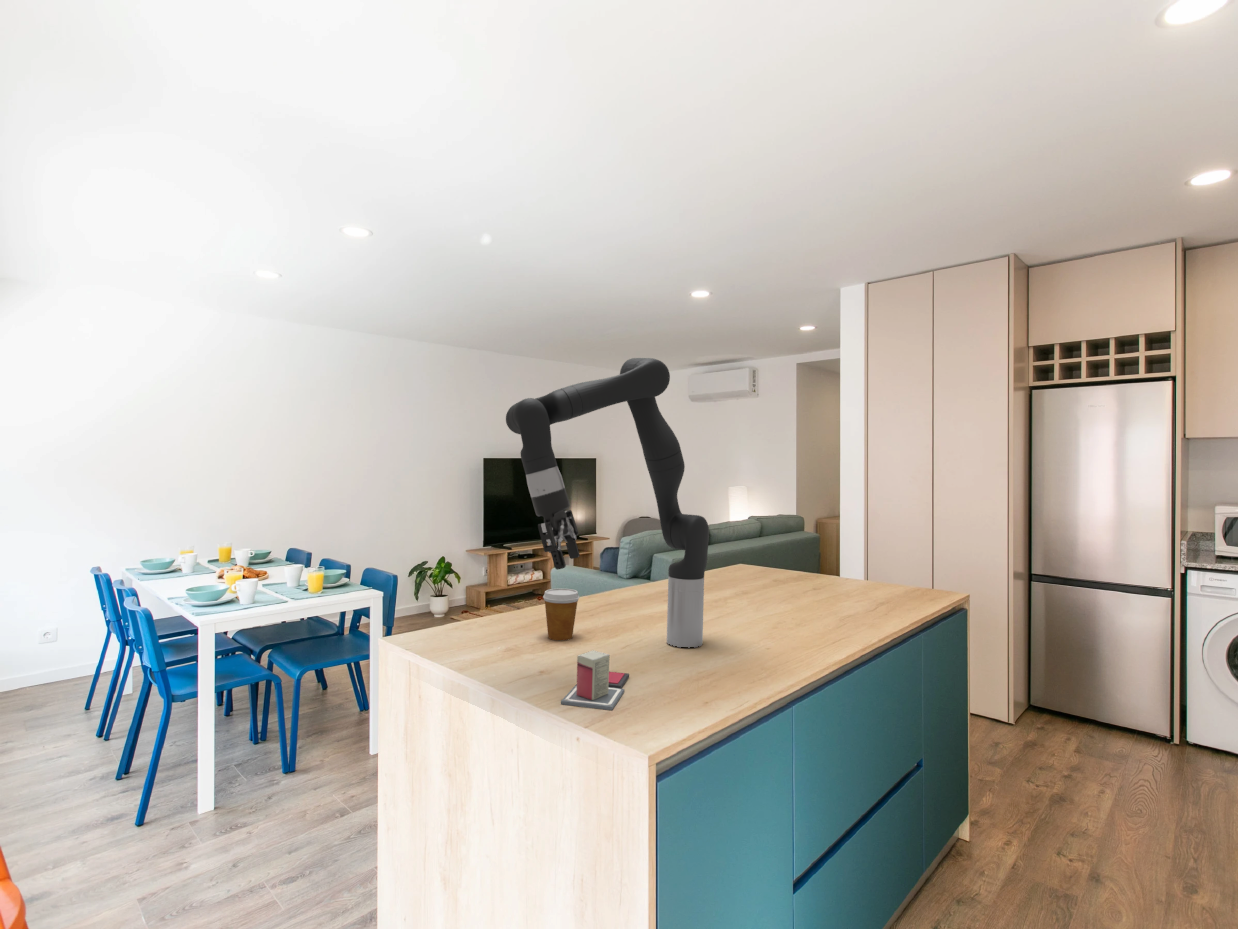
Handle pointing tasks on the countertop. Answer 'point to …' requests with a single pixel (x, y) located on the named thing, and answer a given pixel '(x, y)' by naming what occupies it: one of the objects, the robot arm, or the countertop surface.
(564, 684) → the countertop surface
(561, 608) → the disposable coffee cup
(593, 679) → the small box
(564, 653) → the countertop surface
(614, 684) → the ink pad
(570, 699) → the board
